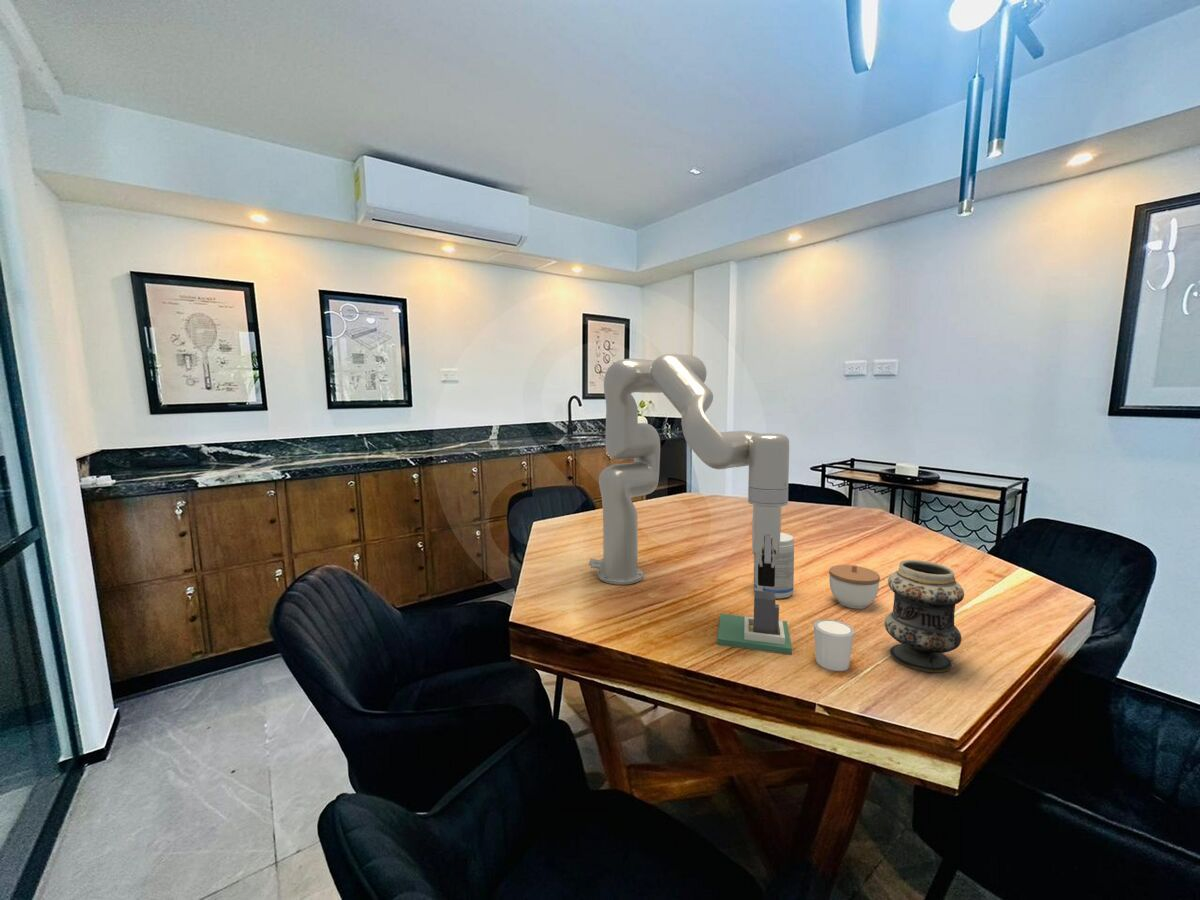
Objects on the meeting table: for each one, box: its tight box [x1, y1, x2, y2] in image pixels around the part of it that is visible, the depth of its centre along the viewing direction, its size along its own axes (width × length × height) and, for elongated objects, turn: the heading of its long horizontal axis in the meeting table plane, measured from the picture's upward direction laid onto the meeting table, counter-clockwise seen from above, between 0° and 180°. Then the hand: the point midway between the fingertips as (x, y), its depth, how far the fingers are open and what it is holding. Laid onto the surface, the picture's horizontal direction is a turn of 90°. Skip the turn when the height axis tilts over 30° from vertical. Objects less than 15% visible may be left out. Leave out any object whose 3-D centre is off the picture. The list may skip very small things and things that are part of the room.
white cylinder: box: [813, 618, 855, 672], centre depth 90 cm, size 7×7×7 cm
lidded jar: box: [828, 564, 881, 610], centre depth 116 cm, size 11×11×9 cm
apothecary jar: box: [883, 559, 965, 674], centre depth 91 cm, size 12×12×18 cm
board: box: [716, 613, 793, 655], centre depth 101 cm, size 14×12×3 cm
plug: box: [753, 590, 780, 635], centre depth 99 cm, size 5×4×8 cm
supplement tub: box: [753, 532, 795, 600], centre depth 123 cm, size 10×10×15 cm
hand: (766, 584), depth 99 cm, fingers closed
